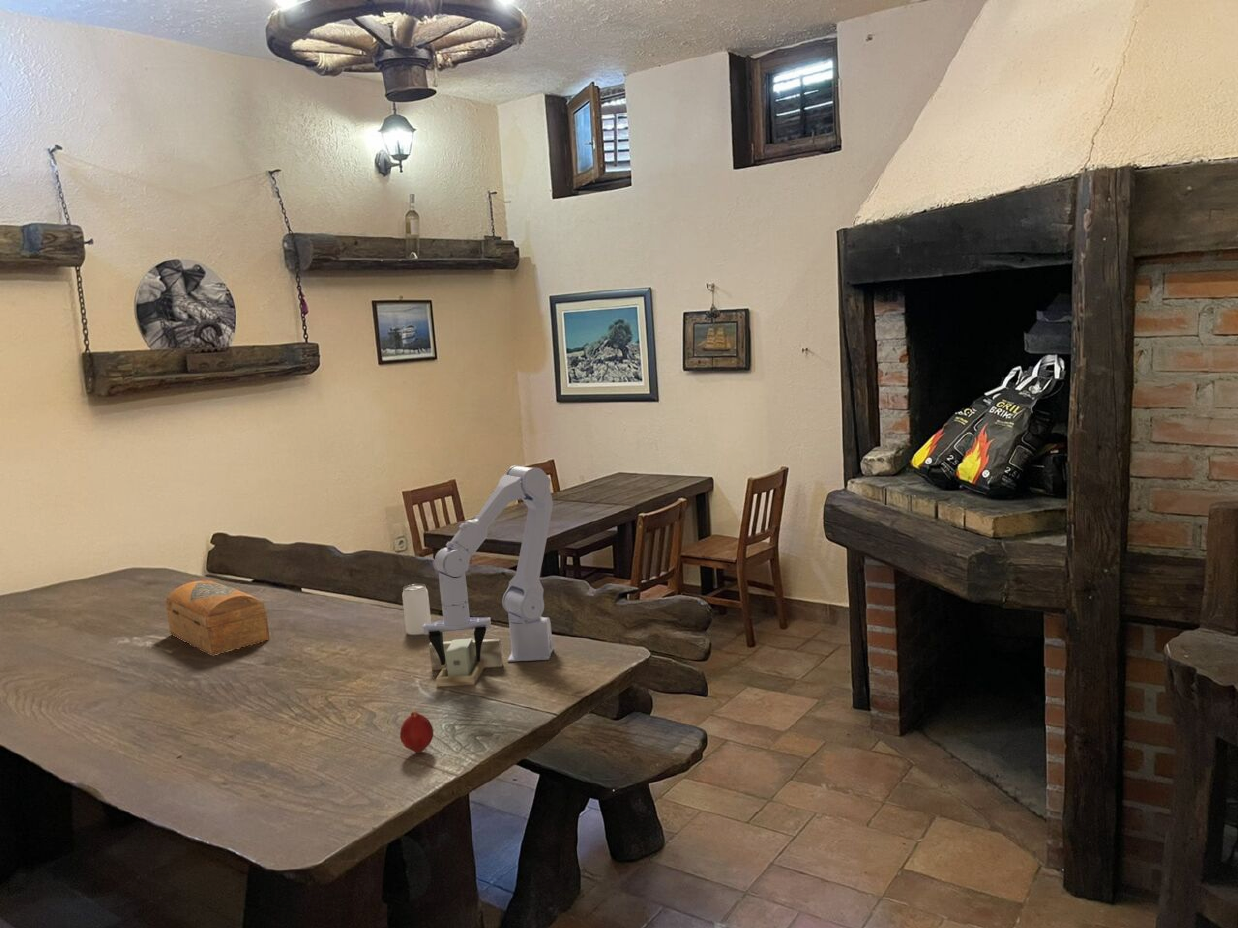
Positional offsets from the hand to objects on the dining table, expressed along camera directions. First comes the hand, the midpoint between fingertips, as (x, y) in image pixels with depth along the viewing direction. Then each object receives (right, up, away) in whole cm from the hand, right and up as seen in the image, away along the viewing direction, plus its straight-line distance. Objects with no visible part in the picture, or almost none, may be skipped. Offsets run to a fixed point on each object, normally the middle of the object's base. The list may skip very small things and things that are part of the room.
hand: (461, 661), depth 199 cm
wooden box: (-71, -3, +42) cm, 83 cm away
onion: (-1, -8, -37) cm, 38 cm away
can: (-17, 0, +34) cm, 38 cm away
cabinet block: (0, -3, 0) cm, 3 cm away
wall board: (0, -3, +1) cm, 3 cm away
